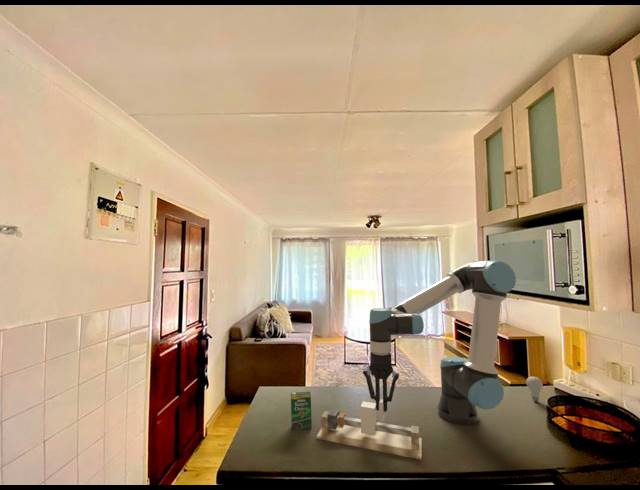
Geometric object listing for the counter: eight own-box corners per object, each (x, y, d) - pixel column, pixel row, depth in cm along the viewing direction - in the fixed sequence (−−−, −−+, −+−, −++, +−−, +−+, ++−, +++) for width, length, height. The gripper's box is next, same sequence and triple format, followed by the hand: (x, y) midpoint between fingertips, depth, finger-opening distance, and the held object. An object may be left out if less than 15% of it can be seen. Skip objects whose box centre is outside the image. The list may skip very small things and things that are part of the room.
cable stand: (421, 440, 104) (421, 418, 104) (421, 459, 93) (420, 435, 94) (326, 423, 116) (325, 403, 116) (316, 438, 105) (316, 417, 106)
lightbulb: (547, 404, 130) (545, 379, 131) (533, 404, 130) (532, 379, 131) (537, 398, 136) (535, 374, 137) (524, 398, 136) (522, 374, 137)
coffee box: (290, 430, 110) (290, 394, 111) (290, 426, 113) (290, 391, 114) (311, 429, 111) (311, 394, 112) (311, 425, 114) (311, 391, 115)
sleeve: (376, 429, 106) (376, 403, 106) (375, 435, 102) (374, 408, 102) (363, 426, 107) (362, 401, 108) (361, 432, 103) (360, 406, 104)
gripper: (399, 350, 107) (401, 417, 105) (364, 347, 111) (365, 412, 109) (398, 356, 99) (400, 428, 98) (360, 353, 104) (361, 422, 102)
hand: (381, 419), depth 103 cm, fingers closed
